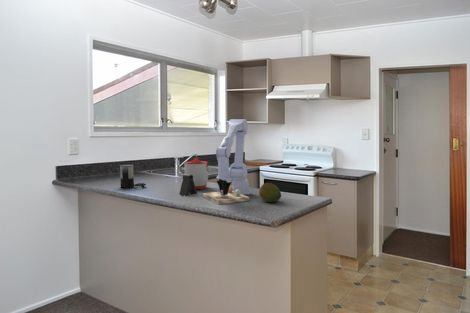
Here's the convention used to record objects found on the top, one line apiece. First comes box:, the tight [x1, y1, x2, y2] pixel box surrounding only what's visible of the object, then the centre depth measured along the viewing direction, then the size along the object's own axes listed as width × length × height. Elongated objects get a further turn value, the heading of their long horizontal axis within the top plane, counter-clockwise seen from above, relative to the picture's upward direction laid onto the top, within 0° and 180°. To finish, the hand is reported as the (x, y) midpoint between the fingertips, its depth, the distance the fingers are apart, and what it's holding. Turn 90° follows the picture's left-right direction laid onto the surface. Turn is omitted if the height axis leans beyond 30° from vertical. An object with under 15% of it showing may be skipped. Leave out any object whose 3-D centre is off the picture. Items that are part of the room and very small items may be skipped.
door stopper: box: [178, 173, 198, 197], centre depth 220 cm, size 9×6×12 cm, turn 138°
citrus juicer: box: [183, 157, 212, 190], centre depth 239 cm, size 16×17×20 cm
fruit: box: [258, 182, 282, 203], centre depth 196 cm, size 12×13×10 cm
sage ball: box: [235, 189, 241, 196], centre depth 204 cm, size 4×4×4 cm
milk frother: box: [119, 164, 147, 189], centre depth 246 cm, size 14×16×15 cm
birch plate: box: [202, 191, 250, 205], centre depth 206 cm, size 18×22×2 cm
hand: (224, 193), depth 200 cm, fingers closed on steel ball, 3 cm apart
